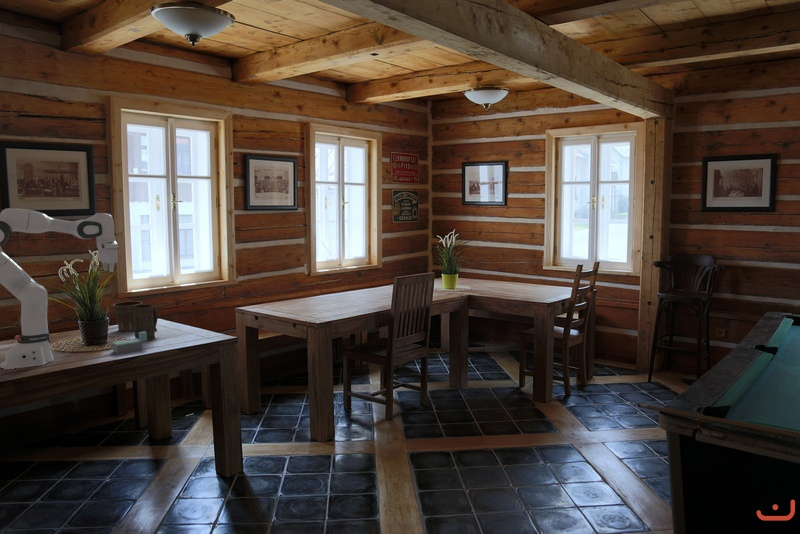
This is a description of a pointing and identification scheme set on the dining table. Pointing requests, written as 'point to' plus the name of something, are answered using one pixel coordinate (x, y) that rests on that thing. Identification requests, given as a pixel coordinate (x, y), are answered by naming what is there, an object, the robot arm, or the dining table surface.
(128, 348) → the tub
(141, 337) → the lid
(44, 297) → the robot arm
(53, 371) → the dining table surface
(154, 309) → the beer stein
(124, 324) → the plant pot
